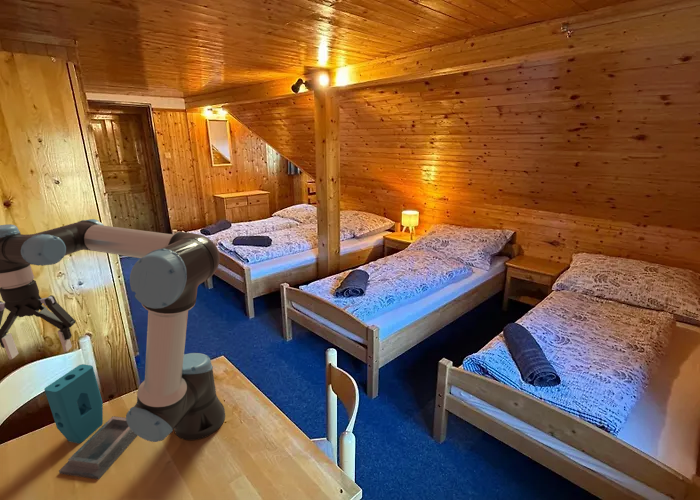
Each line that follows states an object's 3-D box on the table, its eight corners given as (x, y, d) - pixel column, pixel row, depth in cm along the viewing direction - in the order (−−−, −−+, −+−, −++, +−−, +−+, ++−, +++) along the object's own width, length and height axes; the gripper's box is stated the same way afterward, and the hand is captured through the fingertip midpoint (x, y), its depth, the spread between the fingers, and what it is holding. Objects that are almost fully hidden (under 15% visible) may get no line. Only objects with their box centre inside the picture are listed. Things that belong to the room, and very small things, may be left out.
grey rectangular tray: (148, 422, 117) (146, 415, 117) (98, 479, 99) (96, 470, 98) (114, 418, 119) (112, 411, 118) (59, 473, 101) (56, 465, 100)
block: (74, 448, 108) (56, 392, 102) (61, 445, 109) (42, 389, 103) (108, 418, 119) (94, 366, 113) (95, 416, 121) (81, 363, 114)
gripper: (76, 273, 104) (95, 339, 110) (-27, 283, 99) (0, 351, 106) (61, 283, 96) (83, 353, 103) (-50, 295, 92) (-20, 367, 99)
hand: (41, 352), depth 104 cm, fingers open, 13 cm apart
